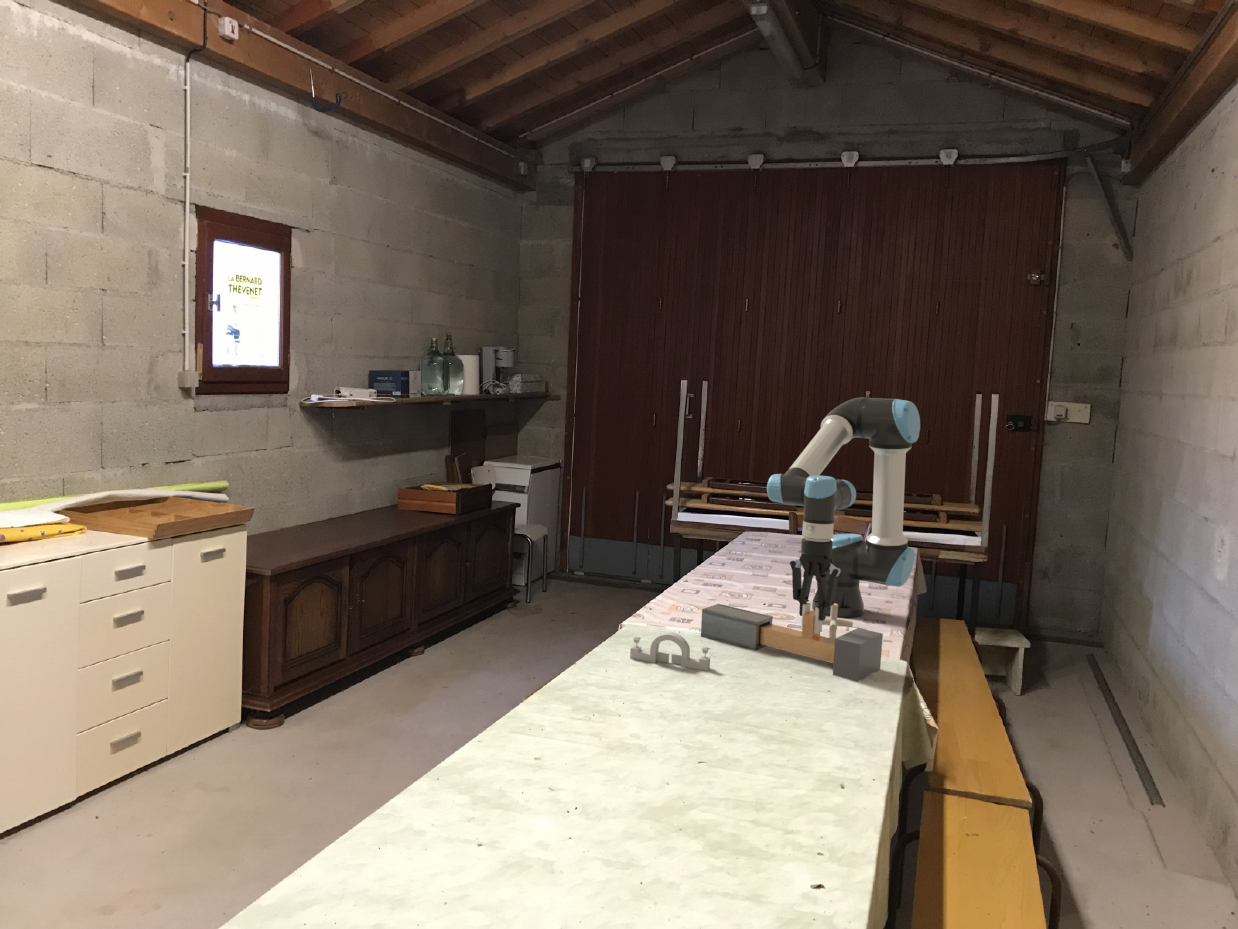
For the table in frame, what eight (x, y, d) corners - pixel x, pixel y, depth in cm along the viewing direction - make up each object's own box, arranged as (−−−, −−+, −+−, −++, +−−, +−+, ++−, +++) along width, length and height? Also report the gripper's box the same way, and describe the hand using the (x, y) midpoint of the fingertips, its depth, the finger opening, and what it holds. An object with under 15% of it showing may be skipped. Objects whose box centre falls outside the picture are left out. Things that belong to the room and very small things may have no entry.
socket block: (855, 663, 238) (858, 628, 237) (880, 669, 234) (882, 633, 233) (832, 674, 229) (835, 638, 228) (857, 681, 225) (860, 644, 224)
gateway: (709, 670, 231) (711, 638, 230) (706, 673, 229) (708, 640, 228) (633, 657, 238) (634, 626, 237) (630, 660, 236) (631, 629, 235)
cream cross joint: (851, 648, 251) (854, 610, 249) (813, 644, 253) (815, 607, 251) (850, 637, 260) (852, 601, 259) (813, 633, 262) (815, 598, 261)
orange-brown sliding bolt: (754, 636, 252) (756, 598, 251) (860, 663, 233) (862, 621, 232) (745, 640, 249) (747, 601, 248) (852, 667, 230) (854, 625, 229)
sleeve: (717, 630, 262) (718, 603, 261) (771, 644, 251) (772, 616, 250) (700, 636, 256) (702, 609, 255) (755, 650, 245) (756, 622, 244)
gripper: (781, 535, 238) (776, 626, 241) (839, 545, 228) (833, 641, 231) (796, 531, 244) (790, 621, 247) (853, 541, 234) (847, 634, 237)
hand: (811, 630), depth 239 cm, fingers closed on orange-brown sliding bolt, 3 cm apart
